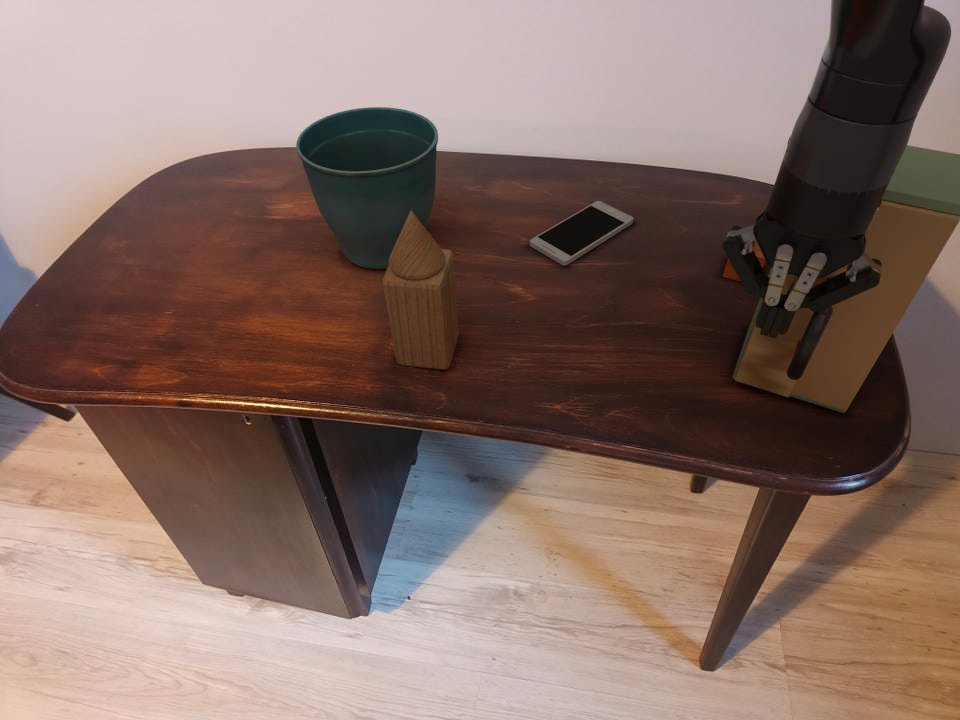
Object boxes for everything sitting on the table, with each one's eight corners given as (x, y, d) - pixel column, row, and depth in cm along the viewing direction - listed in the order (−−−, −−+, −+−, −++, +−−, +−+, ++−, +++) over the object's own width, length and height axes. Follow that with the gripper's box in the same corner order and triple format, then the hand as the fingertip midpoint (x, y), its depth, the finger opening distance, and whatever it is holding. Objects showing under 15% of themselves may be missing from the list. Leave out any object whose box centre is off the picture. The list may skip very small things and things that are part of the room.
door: (789, 394, 70) (879, 207, 53) (780, 431, 66) (873, 244, 50) (735, 377, 72) (806, 191, 55) (723, 412, 68) (795, 226, 52)
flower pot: (422, 201, 102) (411, 96, 90) (465, 263, 90) (459, 151, 78) (311, 229, 97) (283, 122, 85) (341, 298, 85) (313, 185, 73)
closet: (853, 360, 75) (967, 155, 56) (843, 417, 69) (968, 209, 50) (748, 330, 79) (822, 129, 60) (730, 381, 73) (807, 177, 54)
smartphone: (634, 222, 96) (635, 217, 95) (564, 266, 89) (565, 261, 88) (597, 204, 100) (598, 199, 99) (528, 245, 93) (528, 240, 92)
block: (762, 267, 88) (772, 240, 84) (756, 286, 85) (766, 258, 82) (729, 259, 89) (738, 231, 86) (722, 277, 86) (730, 249, 83)
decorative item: (395, 366, 76) (369, 225, 62) (408, 329, 81) (388, 189, 66) (449, 372, 75) (436, 230, 61) (460, 334, 80) (450, 193, 66)
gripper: (736, 166, 48) (688, 334, 60) (936, 207, 43) (840, 380, 55) (756, 124, 52) (708, 289, 65) (939, 157, 48) (849, 327, 60)
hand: (769, 331), depth 60 cm, fingers closed
